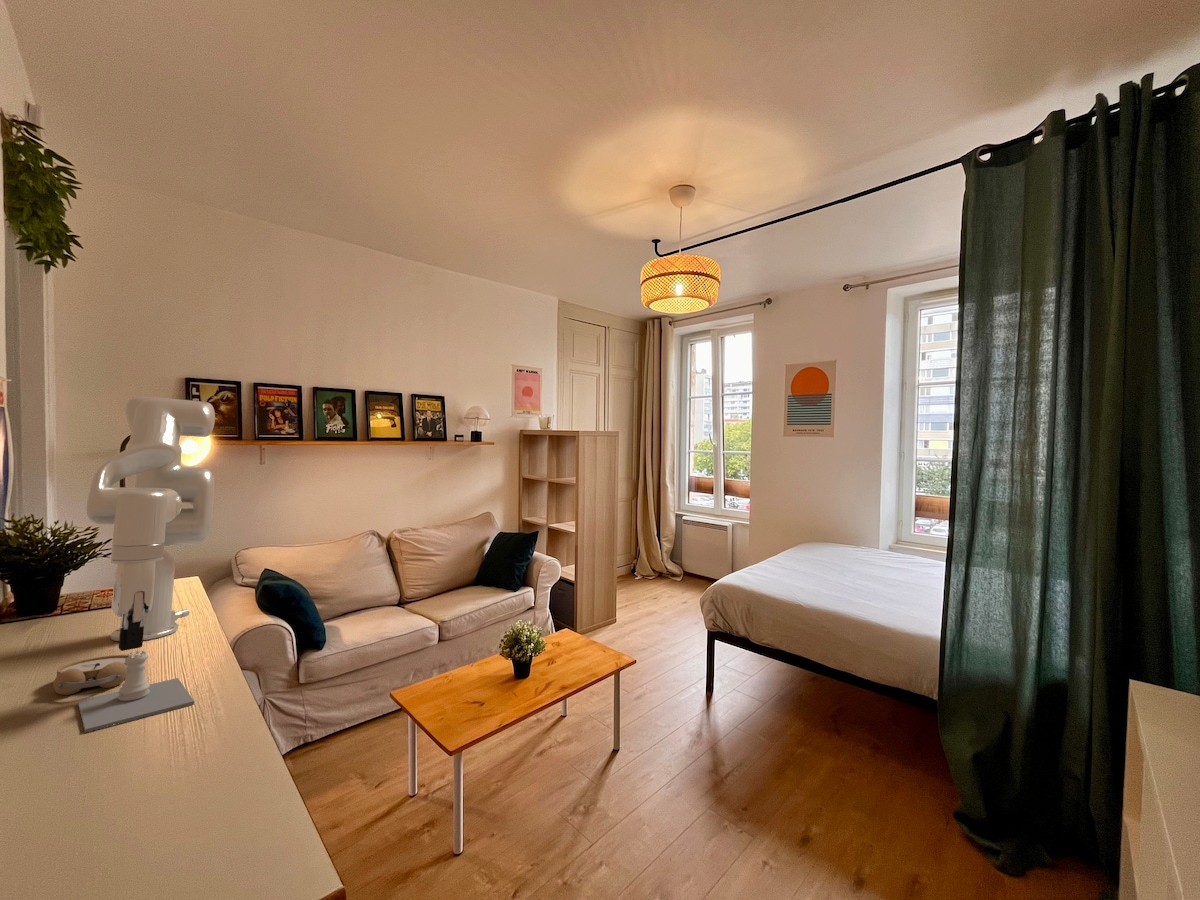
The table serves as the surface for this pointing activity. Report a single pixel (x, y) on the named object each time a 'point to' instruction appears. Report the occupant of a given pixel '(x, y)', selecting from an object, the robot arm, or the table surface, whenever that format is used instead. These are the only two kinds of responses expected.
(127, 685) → the rook chess piece
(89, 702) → the mat
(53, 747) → the table surface
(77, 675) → the alarm clock
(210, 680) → the table surface
